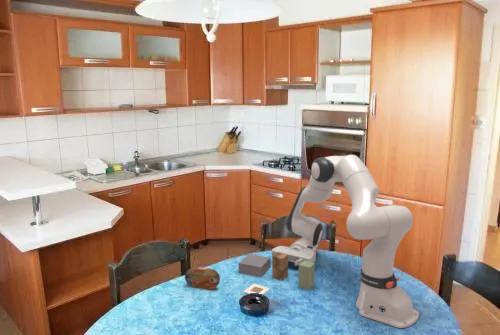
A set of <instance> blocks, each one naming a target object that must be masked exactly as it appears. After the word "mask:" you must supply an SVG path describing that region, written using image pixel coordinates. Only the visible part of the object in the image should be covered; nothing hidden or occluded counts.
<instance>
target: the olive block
mask: <svg viewBox="0 0 500 335" xmlns="http://www.w3.org/2000/svg"><path fill="white" fill-rule="evenodd" d="M315 270H316V262H314V263H313V262H308V261H303V262H301V263H300V264H299V265H298V285H297V286H298V288H300V289H303V290H308V291H310V290H312V289H313V288H314V286H315V280H316V279H315V276H316V274H315V273H316V271H315Z"/></svg>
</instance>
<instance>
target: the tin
mask: <svg viewBox="0 0 500 335" xmlns="http://www.w3.org/2000/svg"><path fill="white" fill-rule="evenodd" d="M218 272H219V271H217V270H216V269H214V268H208V267H201V266H200V267H198V266H192V267H191V268H189V269H188V270H186V272H185V275H184V280H185V282H186V284H187V285H188V286H189V287H191V288H195V289H202V290H208V291H209V290H211V291H213V290H215V289H216V288H217V287H218V285H219V284H220V282H221V276H220V274H219V273H218Z"/></svg>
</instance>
